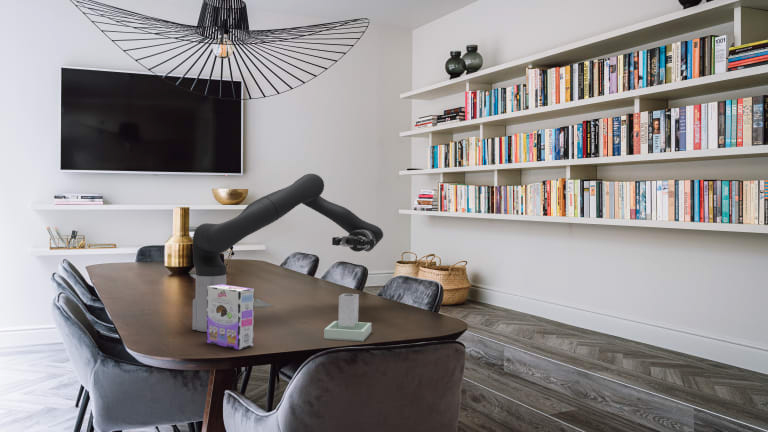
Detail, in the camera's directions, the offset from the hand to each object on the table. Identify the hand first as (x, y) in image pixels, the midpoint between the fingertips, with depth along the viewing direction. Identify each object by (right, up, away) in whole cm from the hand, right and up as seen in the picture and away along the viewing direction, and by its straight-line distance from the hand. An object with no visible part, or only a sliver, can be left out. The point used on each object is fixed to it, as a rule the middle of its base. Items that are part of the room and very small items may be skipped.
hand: (348, 242), depth 188 cm
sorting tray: (+1, -28, -12) cm, 30 cm away
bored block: (0, -27, -12) cm, 30 cm away
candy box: (-32, -28, -25) cm, 50 cm away
